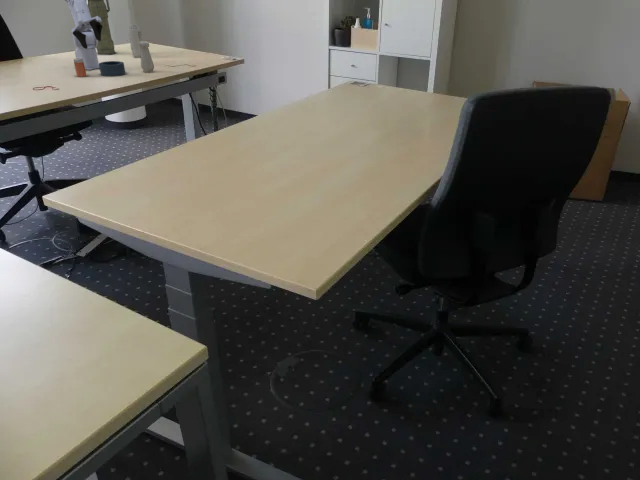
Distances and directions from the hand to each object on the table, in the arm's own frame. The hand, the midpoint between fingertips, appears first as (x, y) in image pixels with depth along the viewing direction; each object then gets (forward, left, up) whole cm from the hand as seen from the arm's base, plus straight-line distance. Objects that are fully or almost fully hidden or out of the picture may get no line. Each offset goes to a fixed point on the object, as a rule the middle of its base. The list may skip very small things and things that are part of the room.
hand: (91, 43), depth 231 cm
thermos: (-45, +40, -13) cm, 62 cm away
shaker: (-6, -4, -13) cm, 15 cm away
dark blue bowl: (+1, +7, -13) cm, 15 cm away
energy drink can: (-25, +44, -13) cm, 52 cm away
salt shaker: (+9, +20, -13) cm, 26 cm away
